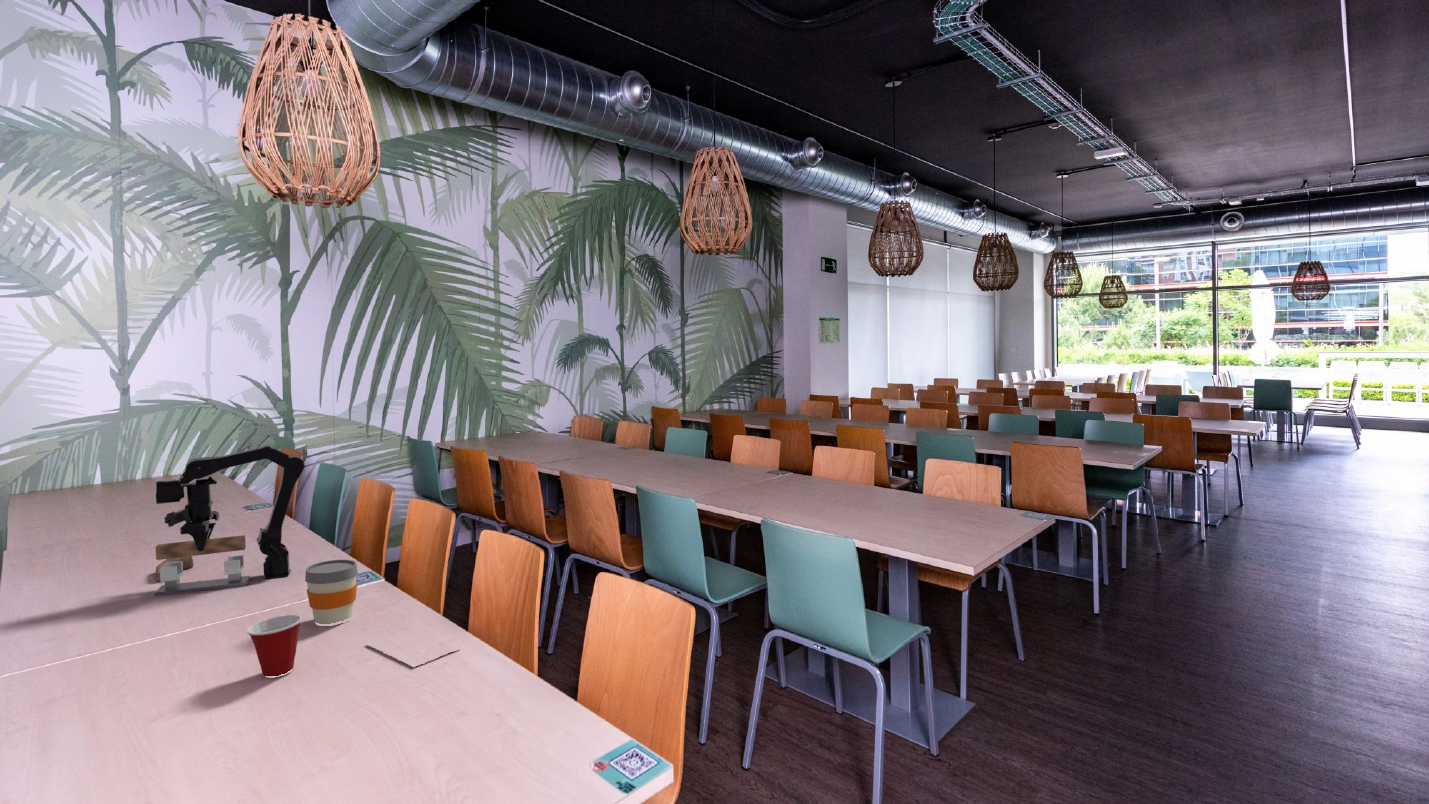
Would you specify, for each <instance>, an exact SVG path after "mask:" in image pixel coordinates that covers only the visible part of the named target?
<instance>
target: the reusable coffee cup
mask: <svg viewBox="0 0 1429 804" xmlns="http://www.w3.org/2000/svg"><path fill="white" fill-rule="evenodd" d="M358 574H359V571H358V566H357V562H356V561H355V560H351V559H331V560H327V561H321V562H317V563H313V564H311V565H309V566H307V567H306V569H305V579H304V581H305V582H306V584H307V585H306V586H307V589H306V594H307V599H308V605H309V607H310V609H311V610H312V615H313V619H314V620H313V621H314V623H315V622H316V623H319V624H331V623H336V622H339V621H344V620H345V619H348V618H350V617H351V616H352V617H353V613H354V603H355V601H356V599H357V590H358V588H357V587H358V582H357V575H358Z"/></svg>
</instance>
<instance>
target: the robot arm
mask: <svg viewBox="0 0 1429 804" xmlns="http://www.w3.org/2000/svg"><path fill="white" fill-rule="evenodd" d="M262 460H268V461H270V462H272V463H274V464H276V465H277V466H280V468H281V469H280V484H279V487H278V490H277V493H276V497H275V500H274V503H273V507H272V511H271V513H270V517H269V520H268V522H267V524H266V527H265V528H261V527H260V528H259V534H258V537H257V538H256V539H255V540H256V543H257V545H258V549H259V551H260V553H261V554H263V555H265V558H264V560H265V561H264V562H263V564H262V565H263V566H262V567H263V576H265V577H264V579H265V580H266V579H276V578H284V577H289V575H290V573H291V572H292V571H291V569H290V554H289V553H290V551H289V550H288V548H287V545H285V544H284V543H282V537H283V536H282V533H283V524H284V521H285V518H286V513H287V511H288V507H289V504H290V501H291V497H292V494H293V491H294V488H295V485H296V483H297V481H299V479H300V477H301V476H302V474H303V471H304V470H305V462H304V460H303V459H302V458H301V457H300V456H298V455H295V454H290V455H289V454H287V453H285V452H283V451H281V450H278V449H276V448H274V447H273V446H271V445H268V444H267V445H262V446H261V447H260V446H259V447H256V448H251V449H247V450H243V451H238V452H234V453H230V454H225V455H221V456H205V457H203V456H202V457H194V458H191V459H189V460H188V461H187V463H186V464H185V471H184V472H183V473H182V474H181V475H180V476H179V478H178V479H173V480H156V482H155V489H156V491H155V501H156V504H157V505H160V504H162V505H163V504H171V503H172V504H173V503H180V502H181V500H183V499H185V487H186V496H187V497H186V499H187V504H186V505H185V506H184V508H183V509H180V510H177V511H171V512H169V513H166V516H165V517H164V524H167V526H168V527H169V528H171V527H174V526H175V525H177V524H179V523H182V522H185V523H184V524H183V525H182V526H180V530H179V532H180V535H189V536H191V537H192V539H193V541H195V544H196V546H197V549H198V551H203V549H204V547H205V544H206V541H207V539H211V536H212V533H213V532H214V529H215V526H216V524H217V523H216V522H211V520H214V521H219V520H220V512H218V511H217V510H212V505H213V500H211V499H212V498H211V485H216V484H218V482H217V479H215V478H213V477H212V476H211V475H214V474H216V473H217V472H220V471H222V470H224V469H228V468H234V467H236V466H241V465H245V464H250V463H254V462H258V461H262ZM194 480H195V482H192V481H194Z"/></svg>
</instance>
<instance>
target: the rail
mask: <svg viewBox="0 0 1429 804" xmlns="http://www.w3.org/2000/svg"><path fill="white" fill-rule="evenodd" d="M246 548H247V547H246V535H244V534H243V535H235V536H233V535H232V536H225V537H214V538H209V539H207V541H206V544H205V547H204V549H203V551H198V549H197V546H196V544H195V541H194V540H188V541H187V540H186V541H178V542H177V541H176V542H168V543H160V544H156V545H155V560H156V561H160V560H166V559H171V558H179V557H188V556H192V557H194V556H195V557H196V556H203V555H211V554H222V553H228V552H229V553H231V552H237V551H245V550H246Z"/></svg>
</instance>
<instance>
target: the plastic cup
mask: <svg viewBox="0 0 1429 804" xmlns="http://www.w3.org/2000/svg"><path fill="white" fill-rule="evenodd" d="M302 621H303V617H302V615H300V614H295V613H294V614H284V615H277V616H273V617H270V618H266V619H262V620H260V621H257V622H255V623H253V624H252V625H250V626H248V628H246V629H245V631H246V634H247V635H249V636H250V638H251V640H252V643H253V645H254V649H255V652H256V656H257V660H258V663H259V665H260V669H261V674H262V675H264V676H279V675H281V674H285V673H287V672H288V671H290V670H291V669H294V667H295V657H296V654H297V646H298V638H299V633H300V625H301V622H302ZM264 676H263V677H264Z"/></svg>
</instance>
